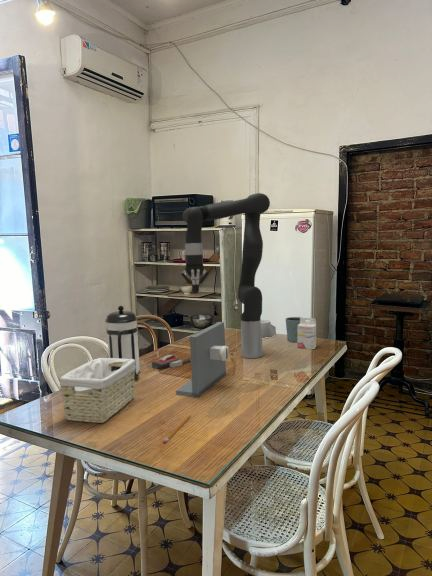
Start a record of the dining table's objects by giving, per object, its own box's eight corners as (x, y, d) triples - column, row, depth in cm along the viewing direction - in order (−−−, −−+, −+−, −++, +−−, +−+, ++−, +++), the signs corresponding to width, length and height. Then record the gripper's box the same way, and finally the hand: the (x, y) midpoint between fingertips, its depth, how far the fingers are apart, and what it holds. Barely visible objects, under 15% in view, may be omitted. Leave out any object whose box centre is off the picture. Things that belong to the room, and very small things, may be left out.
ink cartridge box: (297, 348, 212) (296, 319, 210) (299, 345, 216) (299, 317, 214) (314, 349, 208) (314, 320, 206) (316, 347, 212) (316, 318, 211)
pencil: (166, 443, 119) (192, 416, 137) (164, 440, 119) (191, 413, 137) (163, 444, 119) (190, 417, 137) (162, 441, 119) (188, 414, 137)
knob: (230, 358, 162) (229, 344, 162) (224, 363, 157) (224, 348, 157) (215, 357, 165) (215, 343, 164) (209, 361, 160) (209, 347, 159)
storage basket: (99, 394, 158) (96, 356, 156) (139, 397, 154) (137, 358, 152) (60, 422, 135) (56, 377, 133) (106, 426, 131) (102, 380, 129)
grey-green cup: (297, 344, 219) (296, 321, 218) (281, 341, 227) (281, 318, 226) (309, 340, 226) (308, 318, 225) (293, 337, 234) (293, 315, 232)
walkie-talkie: (161, 372, 182) (195, 361, 197) (161, 362, 182) (195, 352, 196) (149, 368, 189) (183, 358, 203) (148, 359, 188) (182, 349, 202)
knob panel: (235, 375, 174) (233, 322, 171) (208, 398, 150) (206, 337, 147) (206, 372, 179) (204, 321, 176) (176, 394, 155) (173, 335, 153)
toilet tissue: (279, 336, 238) (279, 321, 236) (258, 339, 232) (258, 323, 231) (270, 333, 246) (270, 318, 245) (250, 336, 240) (250, 321, 239)
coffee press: (97, 379, 175) (92, 307, 172) (129, 369, 187) (125, 301, 183) (121, 388, 164) (116, 311, 160) (154, 377, 175) (150, 305, 172)
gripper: (207, 252, 191) (208, 291, 193) (177, 254, 189) (179, 292, 191) (210, 253, 184) (211, 293, 186) (179, 254, 181) (181, 295, 183)
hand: (195, 292), depth 188 cm, fingers closed
